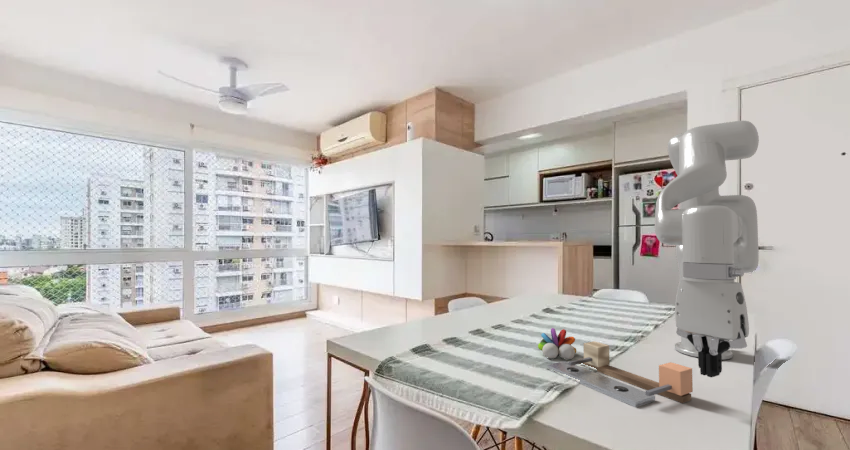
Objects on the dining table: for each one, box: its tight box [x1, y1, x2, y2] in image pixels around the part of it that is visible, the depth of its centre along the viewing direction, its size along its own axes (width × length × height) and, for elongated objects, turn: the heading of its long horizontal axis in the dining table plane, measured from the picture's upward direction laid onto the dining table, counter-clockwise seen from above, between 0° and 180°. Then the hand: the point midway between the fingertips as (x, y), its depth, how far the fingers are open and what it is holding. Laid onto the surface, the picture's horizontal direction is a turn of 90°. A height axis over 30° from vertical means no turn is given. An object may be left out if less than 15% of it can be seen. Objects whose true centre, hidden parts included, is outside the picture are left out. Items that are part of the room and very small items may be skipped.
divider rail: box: [567, 340, 692, 404], centre depth 80 cm, size 11×24×6 cm, turn 27°
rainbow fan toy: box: [537, 327, 577, 360], centre depth 98 cm, size 8×10×7 cm
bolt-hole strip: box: [546, 360, 656, 408], centre depth 80 cm, size 6×22×1 cm, turn 27°
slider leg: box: [645, 361, 694, 396], centre depth 71 cm, size 11×4×4 cm, turn 117°
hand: (710, 374), depth 67 cm, fingers closed
